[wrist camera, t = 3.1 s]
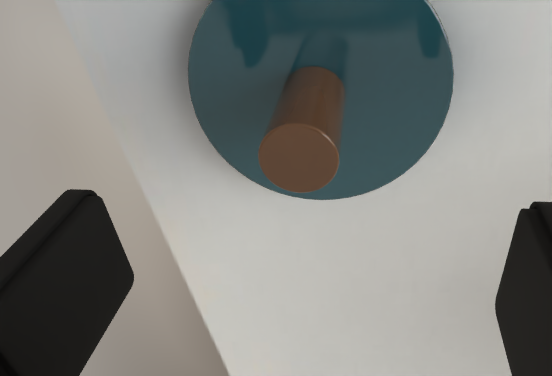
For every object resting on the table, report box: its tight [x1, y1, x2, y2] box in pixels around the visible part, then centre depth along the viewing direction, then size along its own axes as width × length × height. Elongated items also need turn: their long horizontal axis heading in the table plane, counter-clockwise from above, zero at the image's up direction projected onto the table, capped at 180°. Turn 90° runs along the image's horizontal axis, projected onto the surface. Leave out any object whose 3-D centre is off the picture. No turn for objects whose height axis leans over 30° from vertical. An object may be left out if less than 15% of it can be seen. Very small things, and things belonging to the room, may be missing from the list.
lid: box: [188, 0, 454, 200], centre depth 15 cm, size 10×10×6 cm
